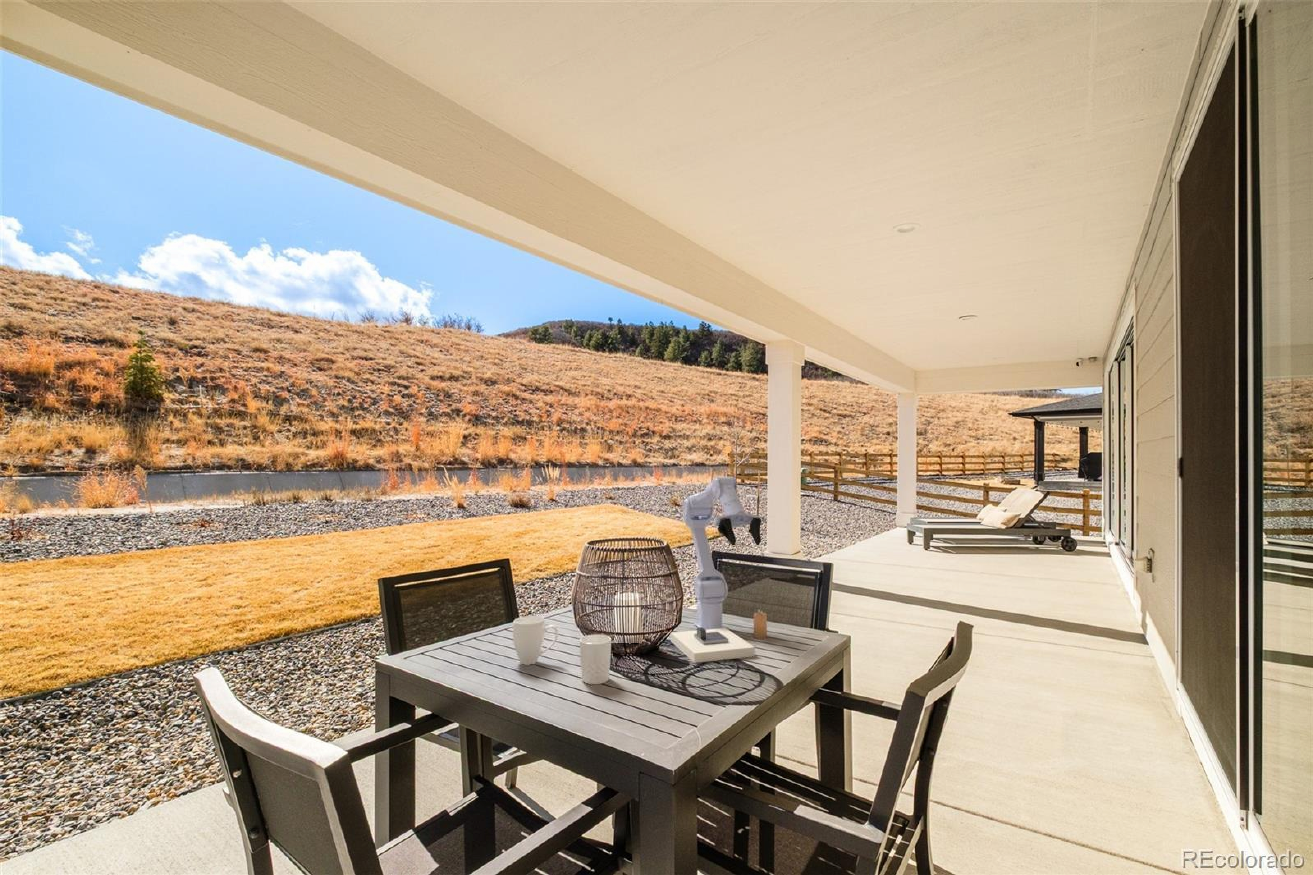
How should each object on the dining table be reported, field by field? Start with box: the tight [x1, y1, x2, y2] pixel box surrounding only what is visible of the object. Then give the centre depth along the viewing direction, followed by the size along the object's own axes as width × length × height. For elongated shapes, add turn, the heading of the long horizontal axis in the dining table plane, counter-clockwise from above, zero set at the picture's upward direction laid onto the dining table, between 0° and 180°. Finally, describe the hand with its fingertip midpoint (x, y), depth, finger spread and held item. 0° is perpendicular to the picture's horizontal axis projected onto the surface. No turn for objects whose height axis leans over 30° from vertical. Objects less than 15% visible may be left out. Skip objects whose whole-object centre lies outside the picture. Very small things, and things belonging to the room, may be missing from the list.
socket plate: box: [670, 627, 756, 664], centre depth 172 cm, size 20×18×2 cm
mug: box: [512, 615, 559, 666], centre depth 160 cm, size 12×8×11 cm
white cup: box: [579, 634, 612, 685], centre depth 148 cm, size 8×8×10 cm
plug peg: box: [753, 608, 768, 640], centre depth 184 cm, size 4×4×8 cm
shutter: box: [694, 627, 728, 644], centre depth 172 cm, size 8×8×3 cm
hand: (746, 543), depth 167 cm, fingers open, 7 cm apart
